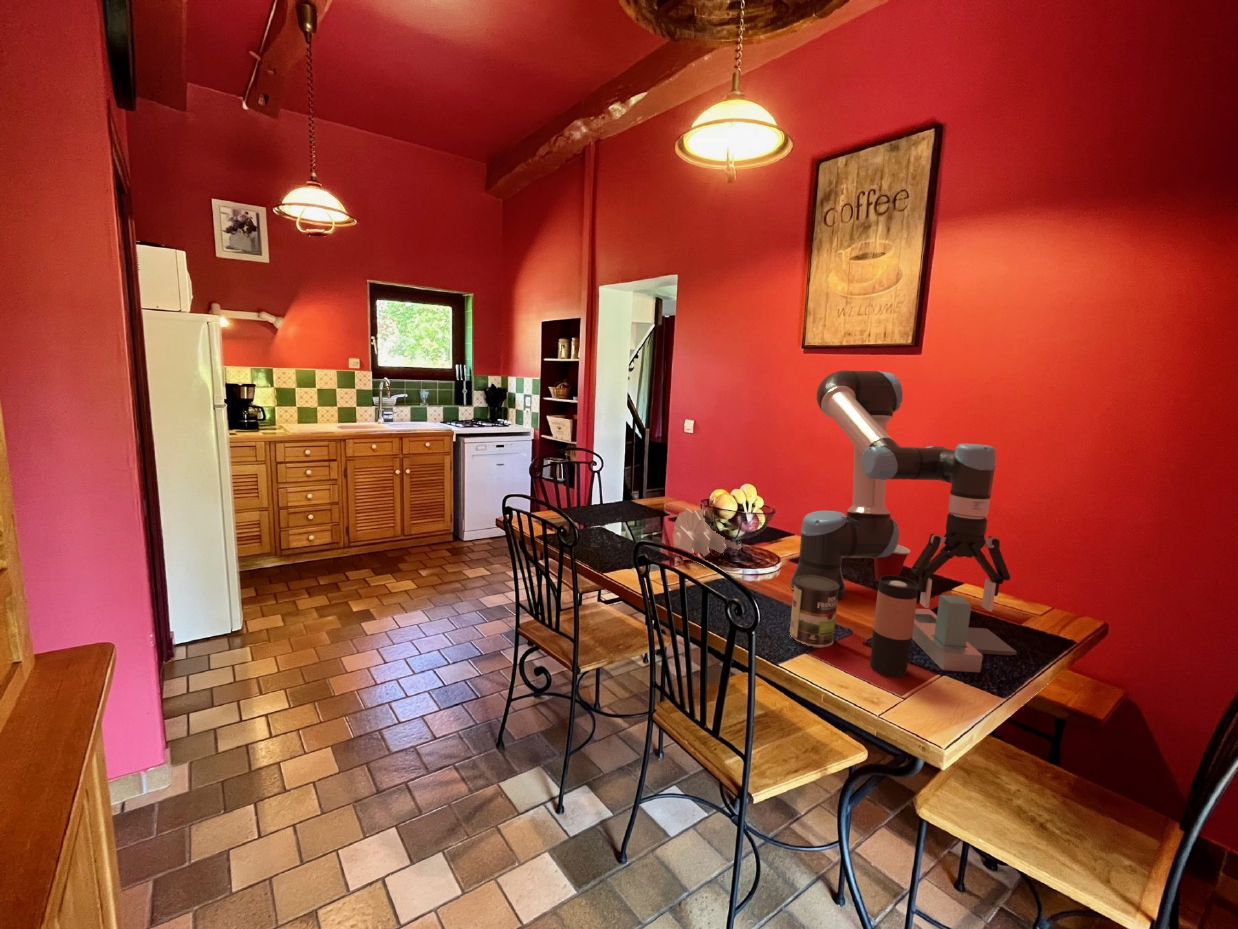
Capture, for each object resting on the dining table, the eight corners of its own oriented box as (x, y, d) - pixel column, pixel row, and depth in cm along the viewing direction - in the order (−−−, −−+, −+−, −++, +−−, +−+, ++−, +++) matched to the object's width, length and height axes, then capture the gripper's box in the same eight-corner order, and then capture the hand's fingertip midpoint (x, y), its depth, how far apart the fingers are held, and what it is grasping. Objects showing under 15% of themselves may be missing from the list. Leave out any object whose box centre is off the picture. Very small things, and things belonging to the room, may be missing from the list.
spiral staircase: (669, 569, 193) (730, 557, 203) (695, 562, 177) (759, 550, 188) (658, 516, 197) (718, 507, 207) (683, 505, 181) (746, 496, 192)
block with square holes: (942, 670, 124) (944, 653, 123) (896, 622, 148) (898, 607, 147) (980, 672, 124) (982, 655, 123) (927, 624, 147) (929, 609, 147)
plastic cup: (912, 590, 170) (917, 552, 168) (876, 588, 170) (881, 550, 168) (896, 577, 181) (900, 541, 179) (862, 575, 181) (866, 539, 179)
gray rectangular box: (941, 662, 128) (950, 603, 125) (932, 652, 132) (939, 595, 130) (963, 663, 127) (971, 604, 125) (952, 653, 132) (960, 596, 130)
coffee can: (843, 643, 135) (849, 586, 133) (811, 651, 130) (817, 593, 128) (810, 625, 144) (815, 572, 142) (779, 632, 139) (784, 577, 137)
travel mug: (862, 660, 127) (872, 575, 124) (894, 659, 128) (905, 575, 124) (880, 678, 120) (891, 588, 116) (915, 678, 120) (927, 588, 117)
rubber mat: (962, 652, 132) (963, 648, 132) (937, 629, 144) (938, 625, 144) (1016, 655, 132) (1016, 651, 132) (986, 632, 144) (986, 628, 143)
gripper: (916, 516, 121) (905, 610, 124) (1038, 522, 120) (1023, 617, 123) (901, 508, 128) (891, 597, 132) (1015, 513, 127) (1002, 603, 130)
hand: (955, 607), depth 127 cm, fingers open, 13 cm apart
